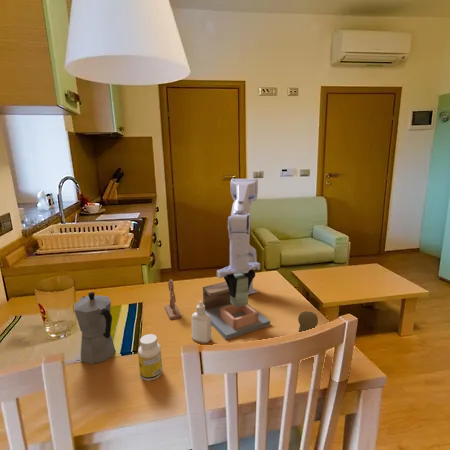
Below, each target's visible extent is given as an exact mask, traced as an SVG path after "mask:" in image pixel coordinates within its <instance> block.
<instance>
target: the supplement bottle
mask: <svg viewBox="0 0 450 450" xmlns="http://www.w3.org/2000/svg"><path fill="white" fill-rule="evenodd" d="M161 349H162V348H161V344H159V342H158V337H157V335H156V334H153V333H147V334H144V335H143V336H141V337H140V339H139V347H138V350H137V356H138V357H137V358H138V367H139V375H140V378H141V379H142V380H145V381H155V380H157V379H159V377H161V375H162V373H163V363H162V361H163V360H162V350H161Z"/></svg>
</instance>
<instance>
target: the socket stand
mask: <svg viewBox="0 0 450 450" xmlns="http://www.w3.org/2000/svg"><path fill="white" fill-rule="evenodd" d="M205 313H207V314H208V315H209V316H210V317H211V327H213V328H214V329H215V330H216V331H217V332H218V334H220V335H221V336H222V337H223V339H224V340H226V339H228V340H230V339H229V338H231V339H233V337H234V338H236V336H237V337H240V336H242V335H245V334H248V333H251V332H254V331H257V330H261V329H262V328H265V327H269V326H271V320H270V319H269V318H267V317H266V316H264V315H263V314H262V313H260V312H259V311H257V310H256V309H255V308H254V307H252V306H251V305H250V304H248V305H244V306H241V307H236V306H235V305H233V304H232V303H229V304H225V305H221V306H218V307H214V308H211V309H207V310H205Z"/></svg>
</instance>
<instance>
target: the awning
mask: <svg viewBox="0 0 450 450" xmlns="http://www.w3.org/2000/svg"><path fill="white" fill-rule="evenodd" d="M229 303H231V302H230V292H229V288H228V285H227V283H226V281H223V282H219V283H214V284H209V285H207V286H206V285H205V286H202V304H203V305H205V310H207V309H211V308H214V307H218V306H221V305H225V304H229Z"/></svg>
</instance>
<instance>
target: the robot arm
mask: <svg viewBox="0 0 450 450" xmlns="http://www.w3.org/2000/svg"><path fill="white" fill-rule="evenodd" d="M258 186H259V180H258V179H257V178H255V177H254V178H234V177H233V178H231V179H230V195H231V199H232V201H234V202H232V206H231V211H230V215H229V216H228V218H227V231H228V240H229V265H228V266H225V267H223V268H221V269H217V270H216V277H217V278H219V279H224V282H226V283H227V285H228V288H229V292H230V296H232V297H233V298H234V297H235V296H236V283H237V280H238V279H237V278H235V276H234V275H236V274H240V273H242V274H243V275H245V276H247V277H248V296H249V295H253V294H255V293H256V294H257V293H258V291H257V289H255V288H254V287H253V286H254V284H253V283H254V279H255V277H256V272H255V271H256V270H257V271H259V270H261V263H260V262H258V261H257V257H258V255H257V249H256V248H255V247H253V246H252V245H251V244H250V242H251V241H250V237H251V236H250V234H251V223H252V222H251V221H252V220H251V206H252V204H253V202H256V201H257V198H258V192H259V187H258Z"/></svg>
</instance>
